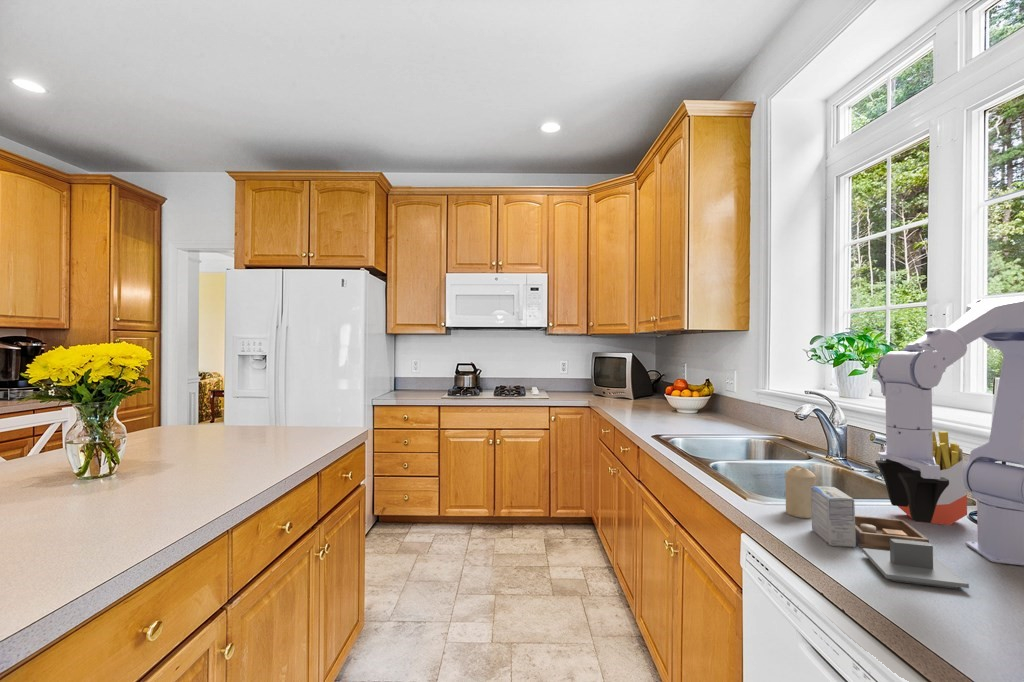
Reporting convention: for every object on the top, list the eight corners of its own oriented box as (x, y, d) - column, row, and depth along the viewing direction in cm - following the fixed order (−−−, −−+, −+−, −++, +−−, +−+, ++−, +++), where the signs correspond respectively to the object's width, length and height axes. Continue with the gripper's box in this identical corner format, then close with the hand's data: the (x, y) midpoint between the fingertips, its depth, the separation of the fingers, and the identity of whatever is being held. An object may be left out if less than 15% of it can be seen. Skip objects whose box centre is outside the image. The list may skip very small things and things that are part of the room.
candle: (822, 518, 101) (821, 470, 101) (796, 519, 101) (796, 470, 101) (804, 509, 107) (803, 463, 107) (780, 510, 106) (779, 464, 106)
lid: (934, 563, 80) (933, 534, 80) (969, 593, 70) (968, 559, 70) (862, 555, 83) (862, 527, 83) (886, 582, 74) (886, 550, 74)
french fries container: (968, 528, 95) (966, 435, 95) (898, 519, 100) (897, 431, 100) (959, 520, 99) (958, 432, 100) (893, 512, 104) (892, 428, 105)
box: (903, 533, 93) (903, 519, 93) (929, 554, 83) (929, 539, 83) (842, 527, 96) (842, 514, 96) (860, 547, 87) (860, 533, 87)
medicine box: (856, 548, 86) (855, 499, 86) (828, 546, 87) (827, 497, 87) (836, 531, 94) (835, 486, 94) (810, 530, 95) (810, 485, 95)
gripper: (862, 419, 85) (863, 497, 85) (897, 433, 71) (899, 526, 71) (911, 420, 83) (912, 500, 83) (957, 436, 69) (959, 532, 69)
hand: (910, 513), depth 77 cm, fingers open, 7 cm apart
